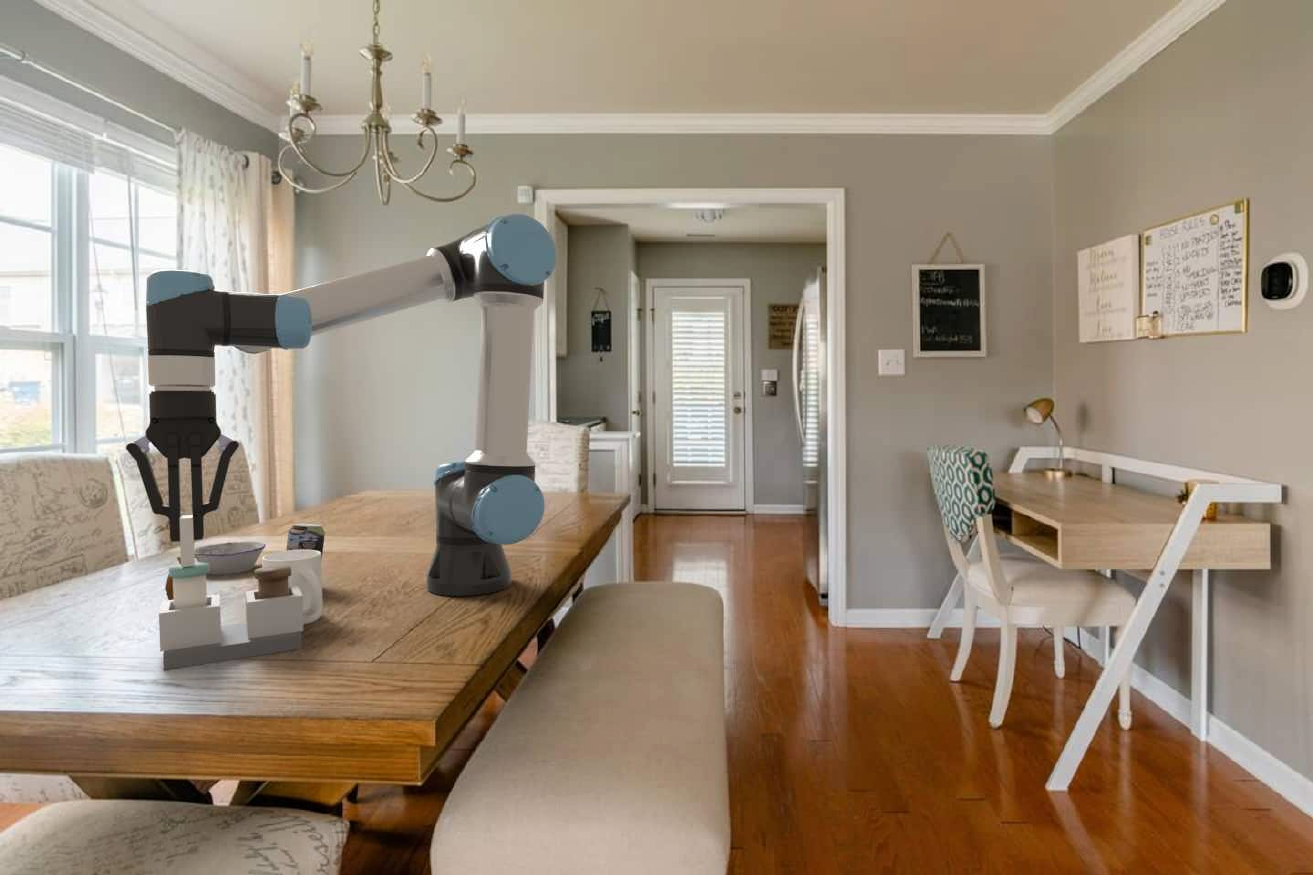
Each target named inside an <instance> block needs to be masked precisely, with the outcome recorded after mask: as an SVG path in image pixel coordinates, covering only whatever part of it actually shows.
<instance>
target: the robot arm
mask: <svg viewBox="0 0 1313 875" xmlns="http://www.w3.org/2000/svg"><path fill="white" fill-rule="evenodd" d="M557 254H558V253H557V247H556V244H555V241H554V238H553V237H552V235H551V233H550V232H549V231H548V230H547V229H546V227H545V226H544V225H543V224H542V223H541V222H540V221H538V220H537V219H535V218H534V217H531V216H529V215H526V214H522V213H512V214H509V215H508V214H507V215H502V216H498V217H496V218H494V219H493V220H491V222H489V223H487V224H485V225H482V226H481V227H478V228H475V229H473V230H472V231H470V232H469V233H467V234H465V235H463V236H461V237H459V238H458V239H456V240H453V241H451V242H449V243H447V244H444V245H440V246H436V247H432V248H430V249H429V250H428V252H427V254H426V256H423V257H418V258H416V259H415V258H414V259H411V260H407V261H403V262H399V263H395V264H392V265H387V266H383V267H380V268H377V269H372V270H369V271H365V272H361V273H357V274H354V275H349V276H345V277H343V278H342V277H341V278H338V279H334V280H330V281H327V282H323V283H319V284H316V285H312V286H308V287H304V288H300V289H295V290H293V291H289V292H285V293H280V294H272V293H271V294H270V293H254V292H241V291H240V292H237V291H227V290H221V289H215V285H214V281H213V278H212V276H210V275H208V274H207V273H204V272H198V271H197V272H196V271H189V270H183V269H181V270H180V269H160V270H158V269H157V270H155V271H152V272H151V273H150V274H149V275H148V276H147V278H146V293H145V295H146V296H145V298H146V299H145V301H146V302H145V312H146V317H145V318H146V334H147V335H146V336H147V369H148V370H147V371H148V385H149V386H150V387H154V388H153V389H154V390H151V391H150V393H148V397H149V398H148V400H149V404H148V405H149V424H148V426H147V428H146V430H145V434H144V435H143V436H141V437H140V438H139V439H136V440H135V441H131V442H129V443H127V444H126V445H125V450H126V451H127V452H128V453H129V454H130V455H131V457H132V459H134V461H135V462H136V465H137V468H138V470H139V474H140V477H141V480H142V484H143V487H144V489H145V493H146V495H147V498H148V502H149V505H150V507H151V511H152V513H153V514H155V515H159V516H160V515H161V516H164V517H167V518H168V521H169V539H170V542H171V543H175V542H179V544H180V545H179V546H180V549H179V550H180V552H179V553H180V557H181V567H189V566H194V564H195V563H196V560H195V559H196V558H195V551H194V549H195V541H199V540H203V538H204V536H205V535H204V534H205V530H204V529H205V528H204V527H205V526H204V523H205V522H204V518H205V515H206V514H208V513H212V512H215V511H217V510H218V508H219V505H220V501H221V499H222V498H221V497H222V494H223V489H224V485H225V482H226V477H227V474H228V470H229V467H230V466H229V465H230V462H231V458H232V456H233V455H234V454H235V453H236V451H237V450H238V448H239V445H240V443H239V442H238V441H237V440H236V439H232V438H230V437H229V436H226V435H225V434H222V430H221V427H220V426H219V424H218V422H217V394H216V393H215V392H214V391H212V389H211V388H214V387H215V386H216V356H215V354H216V353H215V346H221V347H234V348H235V349H237V350H239V351H241V352H244V353H246V354H250V355H251V354H252V355H254V354H255V355H256V354H260V353H264V352H266V351H269V350H271V349H282V350H291V349H292V350H293V349H297V350H300V349H306V348H307V347H308V346H309V345H310V342H311V338H312V337H315V336H317V335H323V334H325V333H327V332H332V331H334V330H338V329H342V328H344V327H348V326H352V325H355V324H358V323H363V322H366V321H371V320H373V319H376V318H379V317H383V316H387V315H390V314H393V313H397V312H400V311H403V310H407V309H410V308H414V307H417V306H421V305H423V304H427V303H431V302H434V301H438V300H442V301H444V302H446V303H452V302H455V301H459V300H464V299H468V298H473V299H474V300H475V301H476V303H478V305H479V306H480V308H481V314H480V315H481V316H480V334H479V335H480V337H479V338H480V339H479V343H480V344H479V358H478V359H479V361H478V362H479V363H478V380H477V381H478V382H477V383H478V384H477V385H478V386H477V404H476V406H477V407H476V426H475V447H474V451H473V453H471V455H469V456H468V457H467V458H466V459H465V461H458V462H457V461H456V462H446V463H442V464H439V465H438V466H437V467H436V469H435V479H434V480H433V481H434V482H433V485H434V493H435V494H434V495H435V497H434V498H435V544H436V545H435V550H434V552H433V556H432V558H431V562H430V566H429V568H428V572H427V575H426V589H427V591H429V592H430V593H432V594H436V595H441V596H452V597H453V596H454V597H467V596H468V597H469V596H479V595H488V594H493V593H496V592H500V591H502V590H503V591H504V590H505V589H507V588H509V587H510V586H511V585H512V571H511V567H510V565H509V561H508V559H507V557H506V553H505V551H504V548H503V545H506V546H507V545H514V544H518V543H520V542H522V541H524V540H526V539H527V538H529V537H530V536H531V535H532V534H533V533H534V532H535V531H536V530H537V529H538V527H539V525H540V524H541V522H542V521H543V516H544V513H545V505H546V503H545V497H544V493H543V491H542V490H541V488H540V487H539V485H538V484H537V483H536V480H535V479H536V462H535V460H534V459H533V458H532V457H531V456H530V455H529V454H528V440H529V439H528V434H529V417H530V416H529V414H530V396H531V395H530V394H531V374H532V372H531V371H532V357H533V356H532V351H533V333H534V332H533V331H534V315H535V314H534V313H535V311H536V310H537V309H538V308H539V307H540V306H542V304H544V295H545V294H544V293H545V281H547V279H549V278H550V276H551V275H552V274H553V272H554V271H555V268H556V265H557V259H558V258H557V256H558V255H557ZM216 442H218V450H219V452H221V454H220V457H219V460H218V464H217V467H216V472H215V475H214V480H213V482H212V488H211V490H210V495H209V500H208V501H207V502H205V503H204V493H203V492H204V490H203V457H204V456H206V455H207V453H208V452H210V450H211V449H212V447H213V446H214V445H215V444H216ZM150 443H151V444H152V445H153V447H154V448H155V449H157V451H158V452H159V453H160V454H161V455H162V456H163V457H164V458H166V459H167V488H168V493H167V494H168V504H165V503H164V501H163V498H162V494H161V492H160V489H159V485H158V483H157V479H156V476H155V474H154V469H153V466H152V465H151V464H152V463H151V461H150V458H149V456H148V454H149V453H150V450H151V448H150V446H149V445H150ZM182 459H189V460H190V473H191V474H190V475H191V476H190V479H191V480H190V481H191V505H192V508H191V510H192V513H191V515H189V514H188V515H181V511H182V510H181V476H180V474H181V473H180V472H181V471H180V468H181V467H180V466H181V465H180V464H181V463H180V461H181V460H182Z"/></svg>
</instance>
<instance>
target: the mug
mask: <svg viewBox="0 0 1313 875" xmlns="http://www.w3.org/2000/svg"><path fill="white" fill-rule="evenodd" d="M261 560H262V561H261V562H262V563H261V565H262V566H261V568H262V567H268V566H279V565H283V566H290V567H291V576H289V577H288V586H295V585H298V587H299V589H300V592H301V594H302V603H303V626H305V625H308V624H312V623H315V622H316V621H318V620H319V619H320V618H321V617H322V614H323V578H322V577H323V574H322V572H323V571H322V561H321V552H320V551H316V550H289V551H286V550H281V551H276V552H272V553H267V554H266V555H264V556H262V558H261Z"/></svg>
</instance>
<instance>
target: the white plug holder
mask: <svg viewBox="0 0 1313 875" xmlns="http://www.w3.org/2000/svg"><path fill="white" fill-rule="evenodd" d="M220 595H221V594H220V593H218V594H209V595H207V606H201V607H193V608H185V609H177V610H174V600H162V601H161V604H160V608H159V611H158V623H159V626H158V627H159V629H158V630H159V650H160V652H163V654H162V658H163V659H162V660H163V671H166V670H173V669H179V668H186V667H192V666H197V665H198V666H200V665H204V664H211V663H217V662H224V661H231V660H236V659H237V660H238V659H243V658H244V659H245V658H249V657H255V656H263V655H269V654H275V653H281V652H289V651H295V650H301V649H302V648H303V647H302V646H303V645H302V633H301V632H304V625H303V603H302V594H301V592H300V589H299V587H298V585H295V586H289V596H283V597H275V598H267V599H259V590H258V589H254V590H252V589H251V590H246V591H245V614H246V615H245V617H246V618H245V619H246V622H239V623H233V624H228V625H227V624H226V625H225V624H224V625H222V623H221V617H222V616H221V599H220V598H221V596H220Z"/></svg>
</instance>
